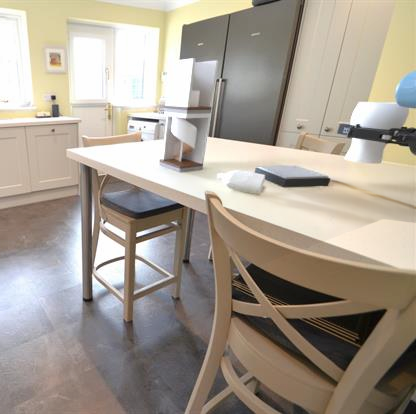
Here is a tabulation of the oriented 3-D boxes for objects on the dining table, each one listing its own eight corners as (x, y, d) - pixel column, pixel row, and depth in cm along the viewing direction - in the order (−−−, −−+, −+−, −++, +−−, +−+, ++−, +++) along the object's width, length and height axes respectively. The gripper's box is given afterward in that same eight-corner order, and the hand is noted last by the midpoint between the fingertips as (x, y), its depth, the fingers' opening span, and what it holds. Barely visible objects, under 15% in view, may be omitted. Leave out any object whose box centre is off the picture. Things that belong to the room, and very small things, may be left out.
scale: (295, 173, 99) (298, 165, 97) (330, 185, 86) (334, 176, 85) (253, 174, 96) (255, 165, 95) (283, 187, 84) (286, 177, 82)
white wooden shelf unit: (159, 164, 107) (168, 61, 94) (181, 162, 111) (193, 63, 98) (179, 172, 98) (193, 58, 84) (202, 169, 102) (218, 60, 89)
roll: (218, 183, 86) (221, 165, 84) (261, 191, 80) (266, 172, 78) (212, 188, 81) (215, 169, 79) (258, 197, 75) (263, 176, 73)
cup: (346, 163, 75) (367, 102, 69) (332, 155, 84) (349, 101, 78) (397, 167, 71) (423, 103, 66) (376, 158, 81) (398, 102, 75)
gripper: (380, 159, 60) (314, 141, 80) (495, 161, 59) (398, 143, 79) (394, 122, 57) (322, 114, 77) (515, 124, 56) (409, 115, 76)
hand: (360, 129), depth 78 cm, fingers closed on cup, 11 cm apart
